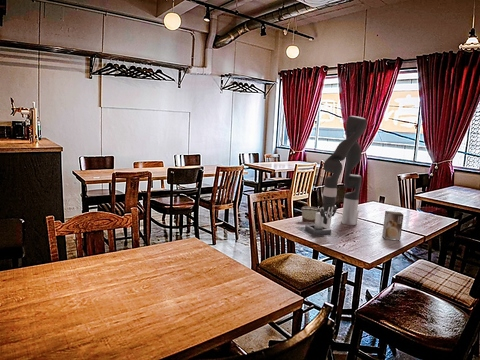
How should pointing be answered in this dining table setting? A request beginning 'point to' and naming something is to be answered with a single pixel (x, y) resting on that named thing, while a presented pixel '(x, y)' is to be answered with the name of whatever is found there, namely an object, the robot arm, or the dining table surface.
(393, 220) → the coffee box
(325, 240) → the dining table surface
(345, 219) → the robot arm
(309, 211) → the food container
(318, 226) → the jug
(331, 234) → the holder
